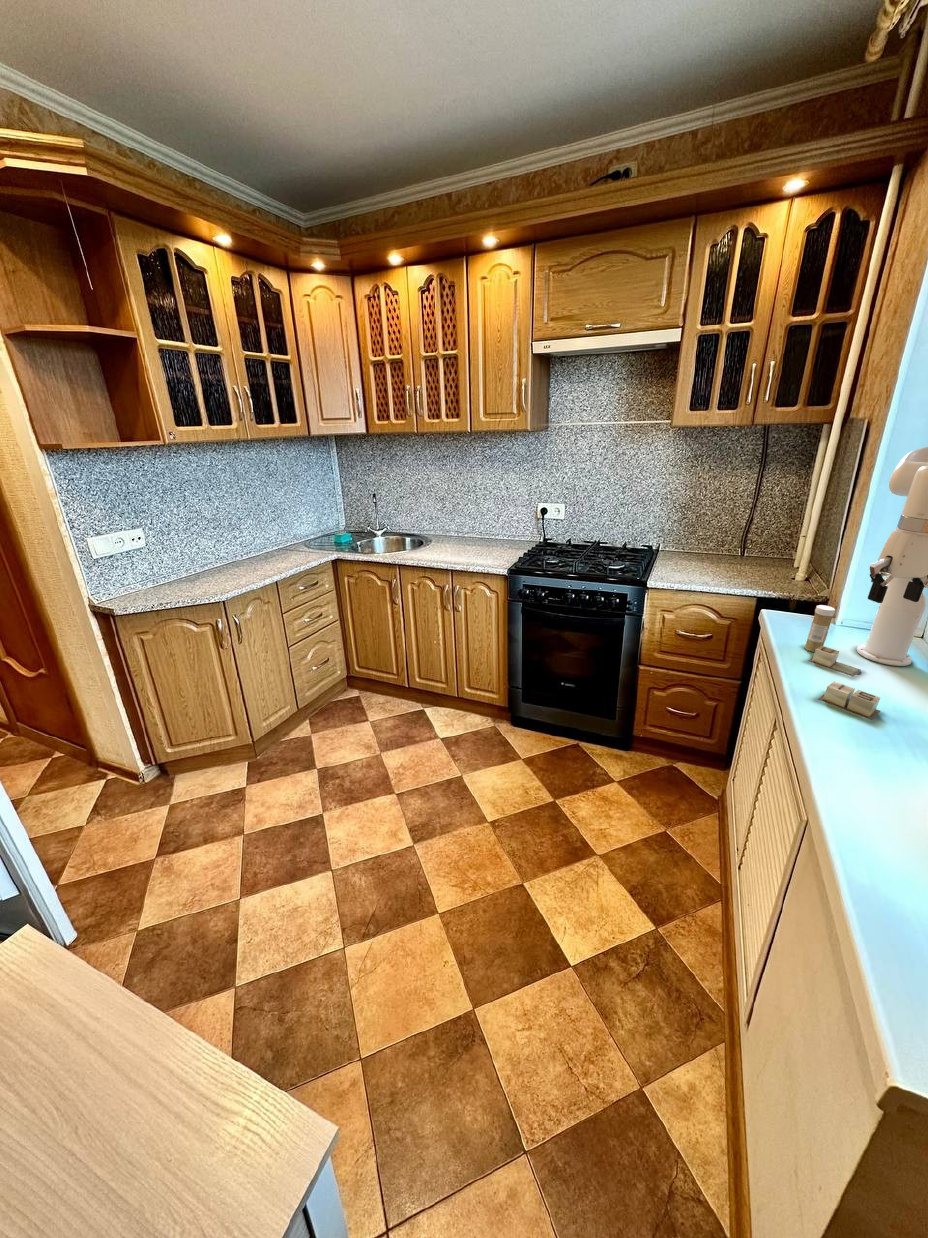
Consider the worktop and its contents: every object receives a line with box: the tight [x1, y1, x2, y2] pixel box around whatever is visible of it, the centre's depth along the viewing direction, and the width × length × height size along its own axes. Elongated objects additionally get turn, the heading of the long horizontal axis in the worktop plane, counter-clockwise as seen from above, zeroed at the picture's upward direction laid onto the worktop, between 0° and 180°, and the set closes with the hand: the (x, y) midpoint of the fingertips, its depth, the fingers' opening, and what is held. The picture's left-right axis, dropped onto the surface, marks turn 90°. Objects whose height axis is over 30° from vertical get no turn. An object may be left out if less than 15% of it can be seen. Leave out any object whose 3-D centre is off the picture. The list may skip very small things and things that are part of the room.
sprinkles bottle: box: [804, 604, 836, 653], centre depth 148 cm, size 5×5×14 cm
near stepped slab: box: [817, 681, 881, 721], centre depth 120 cm, size 6×11×4 cm, turn 38°
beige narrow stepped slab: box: [807, 645, 862, 677], centre depth 139 cm, size 6×11×4 cm, turn 38°
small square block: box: [847, 689, 881, 717], centre depth 118 cm, size 4×4×4 cm
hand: (892, 600), depth 115 cm, fingers open, 9 cm apart
